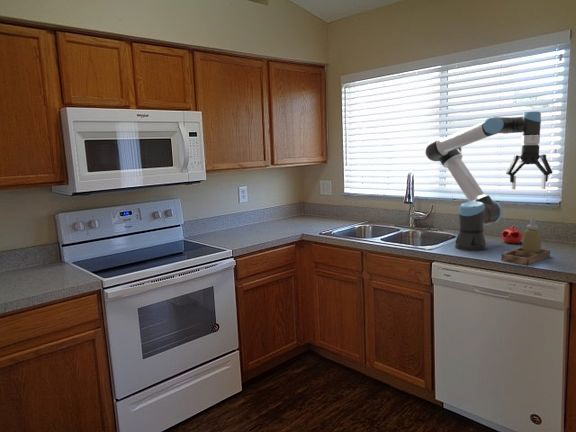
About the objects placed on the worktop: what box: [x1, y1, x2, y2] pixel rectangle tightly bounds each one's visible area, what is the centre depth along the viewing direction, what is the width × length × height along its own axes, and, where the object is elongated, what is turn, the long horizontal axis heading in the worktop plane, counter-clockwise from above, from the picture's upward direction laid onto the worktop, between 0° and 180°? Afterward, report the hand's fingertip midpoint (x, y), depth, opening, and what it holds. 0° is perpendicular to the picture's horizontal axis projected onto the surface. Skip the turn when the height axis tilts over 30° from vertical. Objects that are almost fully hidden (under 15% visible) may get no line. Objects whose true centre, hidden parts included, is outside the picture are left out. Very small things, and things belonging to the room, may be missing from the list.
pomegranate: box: [501, 225, 524, 244], centre depth 237 cm, size 10×10×9 cm
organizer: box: [500, 246, 551, 266], centre depth 204 cm, size 12×22×3 cm, turn 128°
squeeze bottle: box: [521, 217, 542, 254], centre depth 206 cm, size 8×8×18 cm
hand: (528, 189), depth 214 cm, fingers open, 13 cm apart
